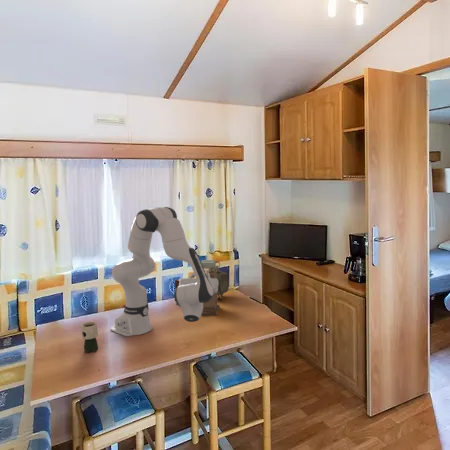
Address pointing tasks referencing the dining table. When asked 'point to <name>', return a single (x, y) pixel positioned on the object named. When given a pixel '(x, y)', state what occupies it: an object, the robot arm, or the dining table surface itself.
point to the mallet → (208, 265)
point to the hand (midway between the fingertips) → (200, 274)
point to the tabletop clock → (222, 282)
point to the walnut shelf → (211, 301)
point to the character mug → (89, 336)
